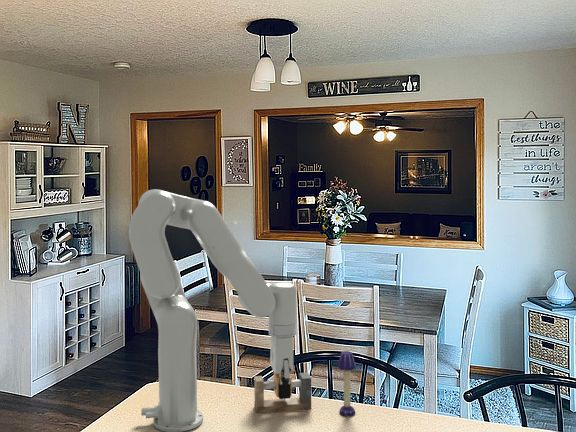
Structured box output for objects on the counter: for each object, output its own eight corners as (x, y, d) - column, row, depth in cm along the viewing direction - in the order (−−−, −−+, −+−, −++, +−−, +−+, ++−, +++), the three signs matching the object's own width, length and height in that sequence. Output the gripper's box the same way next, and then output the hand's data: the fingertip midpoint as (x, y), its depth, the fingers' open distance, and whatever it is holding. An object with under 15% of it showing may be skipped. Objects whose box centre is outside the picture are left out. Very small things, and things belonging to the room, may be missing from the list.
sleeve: (276, 397, 152) (276, 379, 152) (273, 390, 157) (273, 372, 157) (291, 396, 153) (291, 378, 152) (288, 389, 158) (288, 371, 157)
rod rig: (256, 412, 152) (256, 381, 151) (254, 406, 156) (254, 376, 155) (311, 408, 154) (311, 378, 154) (307, 402, 159) (307, 372, 158)
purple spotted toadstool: (354, 417, 148) (354, 355, 147) (336, 416, 149) (337, 354, 148) (355, 410, 153) (356, 350, 152) (338, 409, 154) (339, 348, 153)
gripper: (264, 321, 161) (264, 383, 162) (273, 338, 144) (274, 407, 146) (290, 320, 163) (290, 382, 164) (302, 336, 146) (302, 405, 147)
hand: (282, 393), depth 155 cm, fingers closed on sleeve, 5 cm apart
